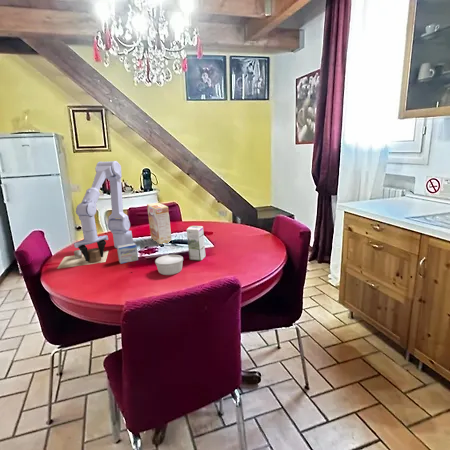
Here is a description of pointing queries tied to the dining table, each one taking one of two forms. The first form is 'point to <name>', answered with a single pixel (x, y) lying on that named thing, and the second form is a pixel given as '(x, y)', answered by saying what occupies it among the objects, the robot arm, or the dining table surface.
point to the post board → (79, 260)
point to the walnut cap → (94, 255)
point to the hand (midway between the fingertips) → (94, 258)
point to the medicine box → (127, 253)
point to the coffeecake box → (159, 223)
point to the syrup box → (196, 242)
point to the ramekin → (169, 264)
